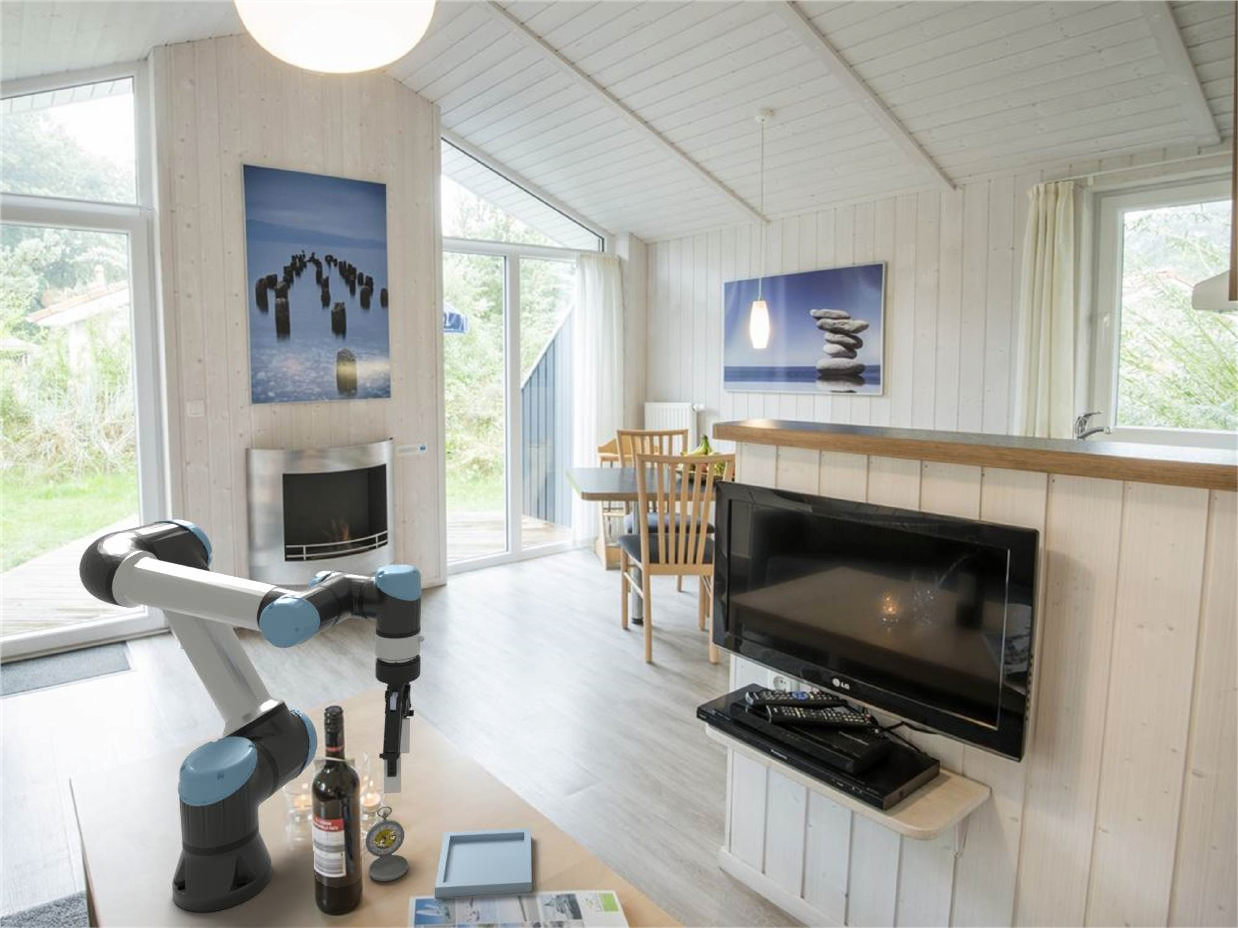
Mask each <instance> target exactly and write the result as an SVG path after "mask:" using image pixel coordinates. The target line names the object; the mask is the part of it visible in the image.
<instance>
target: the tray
mask: <svg viewBox="0 0 1238 928" xmlns="http://www.w3.org/2000/svg"><path fill="white" fill-rule="evenodd" d="M531 828H532V827H527V828H526V827H525V828H508V829H507V828H505V829H486V830H485V829H484V830H466V831H465V830H464V831H463V830H462V831H444V832H443V836H442V843H441V848H440V855H439V861H438V866H437V874H436V878H435V885H434V898H450V897H452V898H453V897H467V896H468V897H469V896H483V895H484V896H485V895H486V896H487V895H502V894H517V893H518V894H520V893H531V892H532V830H531Z"/></svg>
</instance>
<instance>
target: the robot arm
mask: <svg viewBox="0 0 1238 928" xmlns="http://www.w3.org/2000/svg"><path fill="white" fill-rule="evenodd" d="M212 553H213V548H212V544H211V541H210V539H209V538H208V536H207V534H206V533H205V532H204V531H203V530H202V529H201V528H200V527H199V526H198V525H196V524H194V523H192V522H191V521H188V520H183V519H176V518H175V519H169V520H165V519H164V520H157V521H155V522H153V523H152V522H151V523H148V524H145V525H141V526H136V527H133V528H132V527H131V528H128V529H123V530H119V531H114V532H110V533H107V534H104V535H103V536H100V537H99V538H97V539H96V540H94V541H93V542H92V543H90V545H88V547H87V548H86V549H85V550H84V552H83V554H82V556H81V558H80V562H79V568H78V570H79V577H80V582H81V583H82V585H83V587H84V589H85V590H86V591H87V592H88V593H89V595H91V596H92V597H94V598H96V599H98V600H100V601H102V602H104V603H106V604H110V605H114V606H119V607H122V608H127V609H134V608H137V607H140V606H142V605H143V606H148V607H151V608H156V609H159V610H161V611H162V614H163V615H164V617H165V618H166V620H167V622H168V624H169V625H170V628H171V630H172V631H173V633H174V634H175V637H176V638H177V640H178V641H179V644H180V646H181V647H182V649H183V651H184V652H185V654H186V656H187V658H188V660H189V661H190V663H191V665H192V667H193V669H194V670H195V672H196V674H197V676H198V678H199V679H200V681H201V683H202V685H203V687H204V689H206V692H207V693H208V695H209V698H210V699H211V701H212V702H213V705H214V706H215V708H216V709H217V711H218V712H219V715H220V717H221V718H222V720H223V722H224V729H223V732H222V735H221V738H218V739H217V740H215V741H209V742H206V743H204V744H202V745H200V746H198V747H197V748H195V749H194V750H193V751H191V752H190V753H189V754H188V755H187V756H186V757H185V758H184V760H183V761H182V763H181V765H180V769H179V776H178V777H179V778H178V780H179V781H178V784H177V785H178V786H177V793H178V796H179V797H178V798H179V799H178V800H179V813H180V815H179V816H180V827H181V828H180V831H181V840H182V841H181V844H182V845H181V847H182V849H181V853H180V856H179V859H178V863H177V866H176V869H175V872H174V874H173V878H172V883H171V886H172V887H171V888H172V899H173V901H174V903H175V905H177V907H179V908H181V909H183V910H186V911H189V912H196V913H209V912H216V911H217V912H218V911H220V910H225V909H228V908H229V909H230V908H232V907H234V906H236V905H239V904H242V903H244V902H246V901H248V900H249V899H252V898H253V897H254V896H255V895H257V894H259V893H260V892H261V891H262V890H263V889H264V888H265V887H266V886H267V885H268V884H269V881H270V880H271V878H272V873H273V872H272V871H273V870H272V867H273V866H272V857H271V855H270V853H269V852H270V851H269V850H268V848H267V846H266V843H265V841H264V839H263V837H262V835H261V833H260V823H259V822H260V821H259V820H260V819H259V808H260V805H261V804H263V803H264V802H265V801H266V800H267V799H269V798H270V797H272V796H274V795H275V794H276V793H277V792H278V791H279V790H281V789H282V788H283V787H285V786H286V785H287V784H288V783H289V782H292V781H293V780H294V779H297V778H298V777H299V776H300V775H301V774H302V773H303V771H304V770H306V769H307V768H308V767H309V766H310V765H311V763H312V762H313V761H314V758H315V756H316V754H317V753H316V752H317V749H318V743H319V742H318V735H317V730H316V727H315V724H314V723H313V722H312V720H311V719H310V717H308V715H307V714H305V713H304V712H300V710H298V709H295V708H294V709H289V707H288V706H287V703H286V702H285V700H284V699H282V698H281V699H280V698H276V697H273V696H271V694H270V693H269V690H268V689H267V687H266V685H265V683H264V682H263V680H262V678H261V676H260V674H259V673H258V671H257V669H256V668H255V665H254V664H253V662H252V661H251V659H250V657H249V655H248V653H247V651H246V649H245V648H244V646H243V644H242V643H241V640H240V639H239V637H238V636H237V634H236V632H235V631H234V628H233V627H232V626H234V627H240V628H244V629H248V630H252V631H257V632H260V633H261V635H262V636H263V638H264V639H265V640H266V641H268V642H269V643H270V644H271V645H272V646H273V647H276V648H279V649H287V648H292V647H294V646H296V645H301V644H303V643H305V642H307V641H309V640H310V639H312V638H313V637H315V636H317V635H318V634H321V633H323V632H325V631H326V630H327V629H330V628H332V627H333V626H335V625H337V624H339V623H341V622H343V621H345V620H347V619H360V620H368V621H375V622H374V623H375V633H374V634H375V635H374V638H375V639H374V643H375V644H374V646H375V647H374V649H375V650H374V654H375V656H376V658H375V664H374V665H375V675H374V676H375V678H376V681H378V682H380V683H382V684H386V690H384V702H385V707H384V715H385V716H384V727H383V729H384V730H383V743H382V744H383V748H382V753H379V755H378V756H379V757H378V758H379V759H382V761H383V794H401V792H402V754H410V750H411V748H410V745H411V743H410V741H411V739H410V738H411V717H414V715H415V710H414V709H411V707H412V702H411V690H412V689H411V688H412V687H411V686H412V685H411V683H412V682H413V681H416V680H417V679H418V678H419V677H420V675H421V666H422V665H421V661H422V660H421V658H422V657H421V655H420V653H421V643H423V642H424V641H425V637H424V635H421V632H422V631H421V629H422V628H421V617H422V616H421V614H422V613H421V612H422V597H423V590H422V578H421V577H422V576H421V575H422V574H421V572H420V569H418V567H416V566H414V565H410V564H387V565H383V566H380V567H379V568H378V569H376V572H375V575H370V574H362V573H354V572H348V571H347V572H346V571H343V570H323V571H322V570H321V571H319V572H317V573H316V574H315V575H314V578H313V579H311V580H310V582H309V583H308V586H307V587H306V588H303V589H300V590H299V589H294V588H293V589H292V588H288V587H283V586H278V585H274V584H268V583H264V582H260V581H255V580H252V579H251V580H250V579H246V578H242V577H237V576H232V575H228V574H223V573H219V572H214V571H211V570H210V569H211V568H209V566H210V565H211V564H212V559H213V556H212V555H211V554H212Z"/></svg>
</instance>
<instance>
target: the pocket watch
mask: <svg viewBox="0 0 1238 928" xmlns="http://www.w3.org/2000/svg"><path fill="white" fill-rule="evenodd" d="M385 808H386V809H389V813H387V812H386V811H384V812H383V813H382V815H381V814H380V812H381V810H382V809H385ZM392 813H393V808H392V807H390V806H382V807H380V808H379V809H378V810H377V811H376V815H377V816H379V817H380V818H381V819H382V820H379V821H377V822H376V823H374V824H373V825H372V826H371V827H370V828H369V829H368V831H367V833H366V838H365V846H366V850H367V851H368V852H369V854H371V855H372V856H375V857H377V858H376V859H374V860H373V861H372V862H370V865H368V866H369V867H368V874H369V876H370V877H371V878H372V879H373V880H375V881H379V882H390V881H393V880H396V879H398V878H400V877H402V876H403V875H404V874H405V873H406V872H407V870H408V868H409V861H408V860H407V858H405V857H404V856H401V855H399V854H394V853H396V852H397V851H398V850H399V849H400V847H401V846H402V845H403V842H404V839H405V830H404V827H403V826H402V824H401V823H400V822H398V821H397V820H394V819H392V818H388V817H389V816H390V815H391V814H392ZM387 818H388V819H387ZM393 837H394V838H393Z"/></svg>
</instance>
